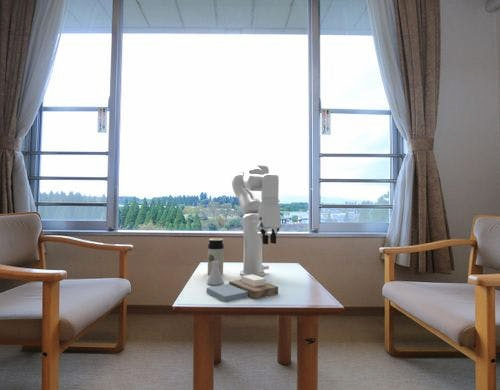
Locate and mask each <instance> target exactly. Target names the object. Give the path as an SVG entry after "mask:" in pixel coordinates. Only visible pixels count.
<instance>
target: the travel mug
mask: <svg viewBox="0 0 500 390" xmlns="http://www.w3.org/2000/svg"><path fill="white" fill-rule="evenodd" d="M208 241H209V243H208V244H207V274H208V275H209V276H210V274H211V271H212V267H213V263H212V262H213V261H218V262H219V271H220V274H221V275H223V274H224V244H223V241H224V238H220V237H211V238H209V239H208Z"/></svg>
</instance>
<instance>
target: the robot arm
mask: <svg viewBox="0 0 500 390" xmlns="http://www.w3.org/2000/svg"><path fill="white" fill-rule="evenodd" d="M269 172H270V171H269V167H268V165H267V164H265V163H255V162H248V163H245V164H243V165H242V168H241V173H236V174H234V175H233V176H232V179H231V185H232V186H231V187H232V190H233V192H234V194H235V196H236V197H237V199H238V203H239V206H240V210H241V213H242V215H243V217H242V219H241V222H242V223H241V224H242V231H243V260H242V261H243V263H242V264H243V270H241V271H240V272H239V273H240V276H241V277H242V276H245V275H251V274H253V275H257V276H260V277H264V276H265V274H266V272H265V270H269V269H270V266H269V265H264V264H263V244H264V245H269V239H270V244H274V245H275V244H277V235H278V232H279V231H280V230H281V229H282V227H283V226H282V224H281V210H280V209H281V208H280V205H279V203H280V199H279V186H280V185H279V181H280V180H279V178H280V177H279V176H278V174H276V173H275V174H274V173H269ZM252 192H261V195H260V197H261V199H257V198H256V199H255V197H254V194H253V193H252ZM259 232H260V233H261V235H262V237H261V236H260V234H259ZM268 232H271V233H270V238H269V235H268Z"/></svg>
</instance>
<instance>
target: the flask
mask: <svg viewBox="0 0 500 390" xmlns="http://www.w3.org/2000/svg"><path fill="white" fill-rule="evenodd" d="M212 263H213V267H212V271H211V274H210V275H209V277H208V279H207V281H206V284H207V285H209V286H213V287H214V286H220V285H224V280H223V279H224V278H223V276H222V274H220V271H219V262H218V261H213V262H212Z"/></svg>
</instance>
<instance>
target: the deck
mask: <svg viewBox="0 0 500 390" xmlns="http://www.w3.org/2000/svg"><path fill="white" fill-rule="evenodd" d="M228 284H230V285H233V286H235V287H237V288H240V289H242V290H245V291H247V292H248V297H247V298H251V299H253V300H258V299H259V300H260V299H263V298H267V297H272V296H276V295H279V286H277V285H274V284H271V283H268V282H266V285H261V286H255V287H254V286H251V285H249V284H246V283H243V282H242V278H241V279H237V280H235V279H234V280H230V281H229V282H228Z"/></svg>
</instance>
